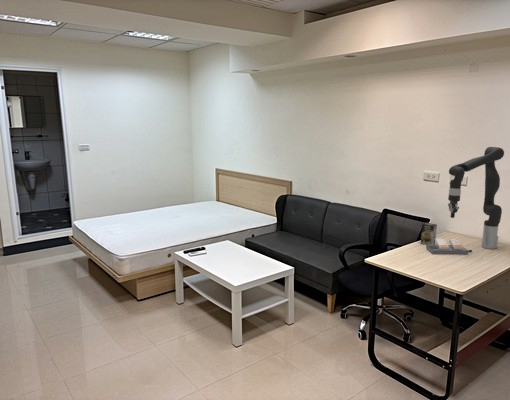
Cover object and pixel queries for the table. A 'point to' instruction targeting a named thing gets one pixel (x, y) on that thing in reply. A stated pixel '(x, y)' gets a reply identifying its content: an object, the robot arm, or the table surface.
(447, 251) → the rocker switch panel
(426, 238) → the coffee box
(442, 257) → the table surface
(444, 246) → the block
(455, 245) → the rocker
